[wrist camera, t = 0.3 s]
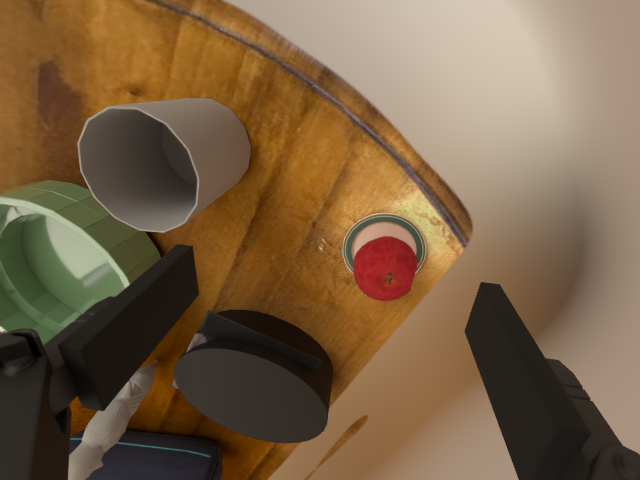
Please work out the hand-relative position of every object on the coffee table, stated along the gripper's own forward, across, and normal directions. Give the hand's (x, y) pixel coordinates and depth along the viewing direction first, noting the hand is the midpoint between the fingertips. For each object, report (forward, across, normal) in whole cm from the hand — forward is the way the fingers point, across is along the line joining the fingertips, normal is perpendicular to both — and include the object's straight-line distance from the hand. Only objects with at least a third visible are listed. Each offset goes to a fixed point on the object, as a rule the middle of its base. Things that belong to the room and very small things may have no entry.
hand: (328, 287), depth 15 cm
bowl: (+17, -30, -13) cm, 36 cm away
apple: (+17, +4, -6) cm, 18 cm away
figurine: (+17, -24, -28) cm, 40 cm away
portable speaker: (+17, -27, -45) cm, 55 cm away
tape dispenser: (+17, -8, -23) cm, 29 cm away
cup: (+17, -14, +2) cm, 22 cm away
